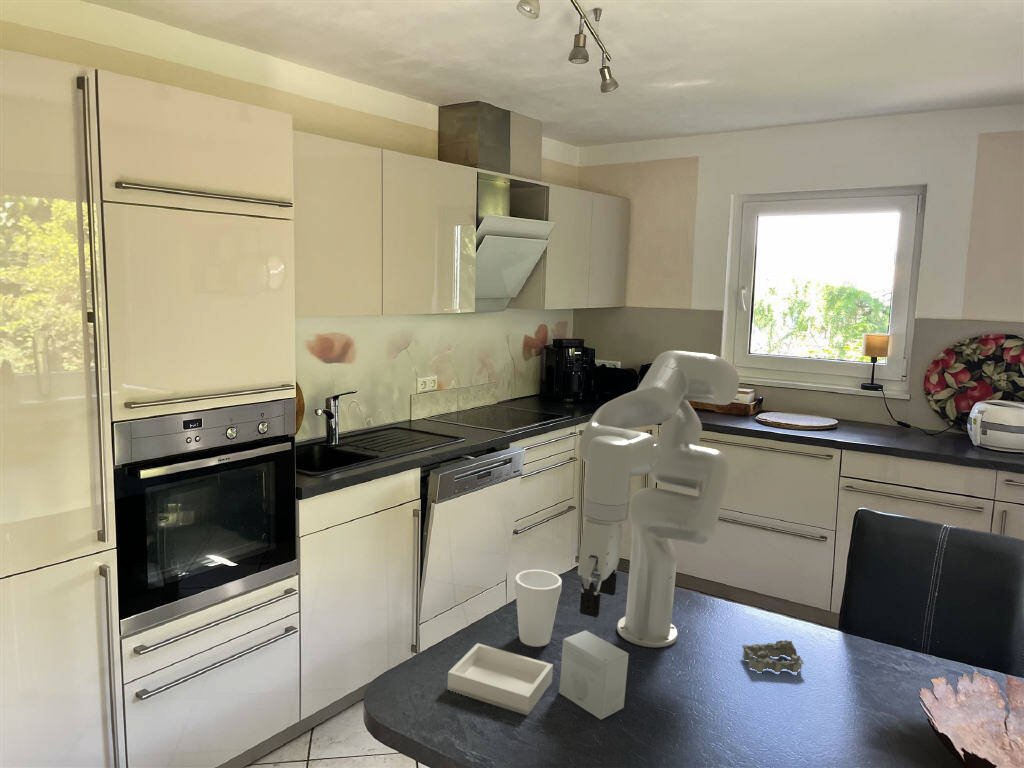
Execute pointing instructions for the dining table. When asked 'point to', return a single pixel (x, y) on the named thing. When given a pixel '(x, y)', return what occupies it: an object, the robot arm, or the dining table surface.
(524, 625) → the foam cup
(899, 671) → the dining table surface
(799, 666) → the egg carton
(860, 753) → the dining table surface
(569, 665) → the skincare box
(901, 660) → the dining table surface
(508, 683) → the trough
